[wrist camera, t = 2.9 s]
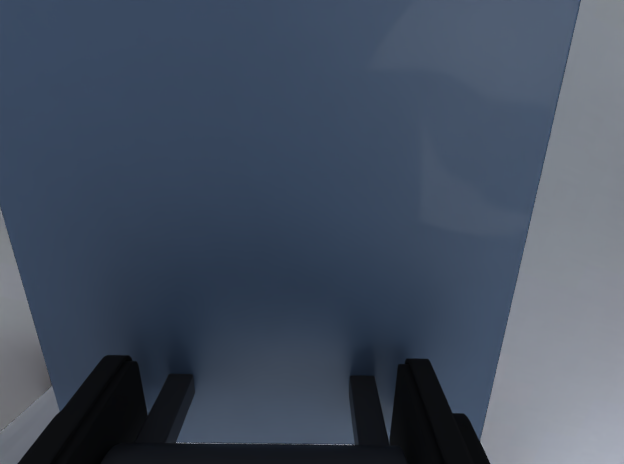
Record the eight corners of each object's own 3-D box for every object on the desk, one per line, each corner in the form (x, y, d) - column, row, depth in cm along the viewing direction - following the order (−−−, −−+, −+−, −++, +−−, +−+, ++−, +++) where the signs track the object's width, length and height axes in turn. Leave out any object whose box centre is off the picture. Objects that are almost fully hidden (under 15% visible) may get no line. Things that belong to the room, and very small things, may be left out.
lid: (470, 427, 12) (561, 621, 8) (80, 423, 12) (-53, 615, 8) (593, -147, 7) (1057, -537, 3) (-75, -159, 7) (-729, -575, 3)
